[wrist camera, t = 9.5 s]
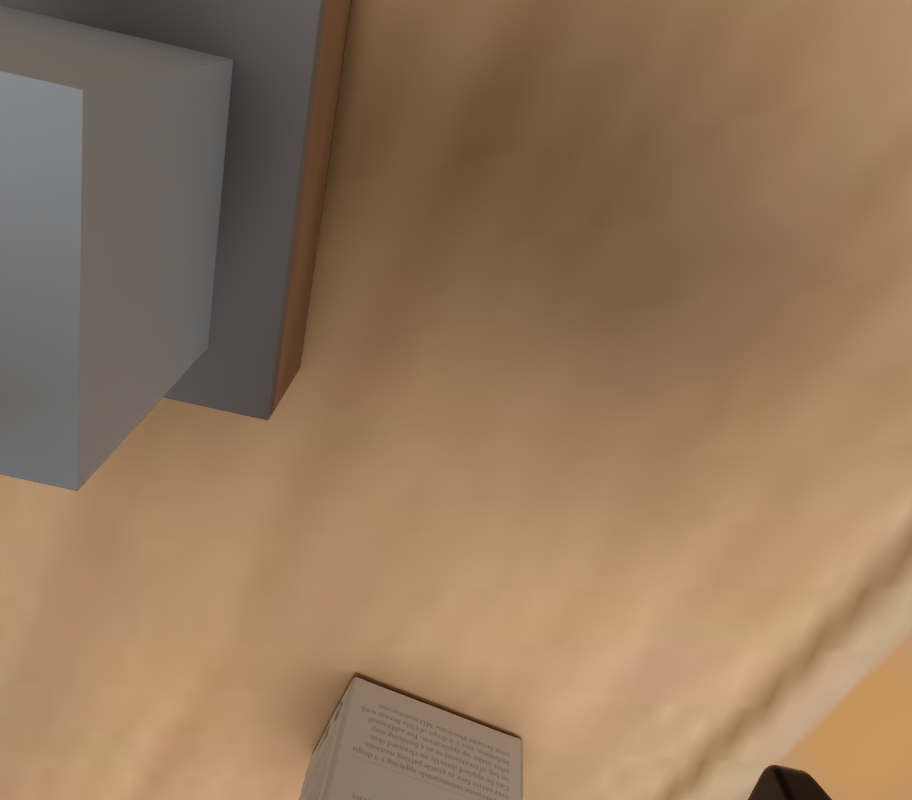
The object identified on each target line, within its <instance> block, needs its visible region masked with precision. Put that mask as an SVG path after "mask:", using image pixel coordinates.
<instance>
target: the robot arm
mask: <svg viewBox="0 0 912 800" xmlns="http://www.w3.org/2000/svg"><path fill="white" fill-rule="evenodd" d="M748 800H832V799H831V798H830V797H829V796H828V795H827V793H826V792H825V791H824V790H823V789H822V788H821V786H820V785H819V784H818V783H817V782H816V781H815V780H814V779H813V778H812V777H811V776H810V775H809V774H807V773H806V772H804V771H801V770H796V769H792V768H788V767H783V766H778V765H770V766H768V767H767V768H766V769H765V770H764V771H763V773H762V774H761V776H760V778H759V780H758V782H757V784H756V786H755V787H754V789H753V791H752V793H751V795H750V797H749V799H748Z"/></svg>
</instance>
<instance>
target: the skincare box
mask: <svg viewBox="0 0 912 800" xmlns="http://www.w3.org/2000/svg"><path fill="white" fill-rule="evenodd" d="M299 800H523V748H522V742H521V740H520V739H518V738H516V737H513V736H510V735H507V734H505V733H502V732H499V731H496V730H494V729H491V728H489V727H486V726H483V725H481V724H478V723H475V722H473V721H470V720H468V719H465V718H462V717H460V716H457V715H455V714H452V713H449V712H447V711H444V710H441V709H439V708H436V707H433V706H431V705H428V704H426V703H423V702H420V701H418V700H415V699H412V698H410V697H407V696H404V695H402V694H399V693H396V692H394V691H391V690H389V689H386V688H384V687H381V686H378V685H376V684H373V683H370V682H368V681H366V680H363V679H361V678H358V677H355V678H353V679H352V681H351V683H350V685H349V687H348V688H347V690H346V692H345V694H344V696H343V698H342V700H341V701H340V703H339V705H338V707H337V709H336V711H335V712H334V714H333V716H332V718H331V720H330V722H329V724H328V726H327V728H326V730H325V732H324V734H323V736H322V738H321V740H320V742H319V744H318V745H317V747H316V749H315V751H314V753H313V754H312V756H311V759H310V762H309V765H308V769H307V772H306V776H305V780H304V784H303V788H302V791H301V795H300V799H299Z"/></svg>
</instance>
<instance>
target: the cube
mask: <svg viewBox="0 0 912 800" xmlns="http://www.w3.org/2000/svg"><path fill="white" fill-rule="evenodd" d="M232 67H233V59H230V58H225V57H221V56H217V55H213V54H208V53H204V52H200V51H195V50H191V49H187V48H182V47H178V46H174V45H169V44H165V43H161V42H156V41H152V40H148V39H143V38H139V37H135V36H131V35H126V34H122V33H118V32H113V31H109V30H105V29H100V28H96V27H92V26H87V25H83V24H79V23H74V22H70V21H66V20H62V19H57V18H53V17H49V16H44V15H40V14H36V13H31V12H27V11H23V10H18V9H14V8H10V7H5V6H1V5H0V474H2V475H6V476H11V477H15V478H20V479H25V480H29V481H34V482H38V483H43V484H48V485H52V486H57V487H61V488H66V489H71V490H75V491H78V490H79V489H80V488H81V486H82V485H83V484H84V483H85V482H86V481H87V480H88V479H89V478H90V477H91V475H92V474H93V473H94V472H95V471H96V470H97V469H98V468H99V467H100V466H101V464H102V463H103V462H104V461H105V460H106V459H107V458H108V457H109V456H110V455H111V453H112V452H113V451H114V450H115V449H116V448H117V447H118V446H119V445H120V444H121V442H122V441H123V440H124V439H125V438H126V437H127V436H128V435H129V434H130V433H131V431H132V430H133V429H134V428H135V427H136V426H137V425H138V424H139V423H140V422H141V420H142V419H143V418H144V417H145V416H146V415H147V414H148V413H149V412H150V411H151V409H152V408H153V407H154V406H155V405H156V404H157V403H158V402H159V401H160V400H161V398H162V397H163V396H164V395H165V394H166V393H167V392H168V391H169V390H170V389H171V387H172V386H173V385H174V384H175V383H176V382H177V381H178V380H179V379H180V378H181V376H182V375H183V374H184V373H185V372H186V371H187V370H188V369H189V368H190V367H191V365H192V364H193V363H194V362H195V361H196V360H197V359H198V358H199V357H200V356H201V354H202V353H203V352H204V351H205V350H206V349H207V348H208V342H209V331H210V319H211V308H212V296H213V285H214V273H215V262H216V250H217V239H218V228H219V216H220V205H221V193H222V182H223V170H224V159H225V147H226V136H227V124H228V113H229V102H230V90H231V79H232Z"/></svg>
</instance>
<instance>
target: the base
mask: <svg viewBox="0 0 912 800" xmlns="http://www.w3.org/2000/svg"><path fill="white" fill-rule="evenodd" d="M0 5H1V6H5V7H10V8H14V9H18V10H23V11H27V12H31V13H36V14H40V15H44V16H49V17H53V18H57V19H62V20H66V21H70V22H74V23H79V24H83V25H87V26H92V27H96V28H100V29H105V30H109V31H113V32H118V33H122V34H126V35H131V36H135V37H139V38H143V39H148V40H152V41H156V42H161V43H165V44H169V45H174V46H178V47H182V48H187V49H191V50H195V51H200V52H204V53H208V54H213V55H217V56H221V57H225V58H230V59H233V67H232V79H231V90H230V102H229V113H228V124H227V136H226V147H225V159H224V170H223V182H222V193H221V205H220V216H219V228H218V239H217V250H216V262H215V273H214V285H213V296H212V308H211V319H210V331H209V342H208V348H207V349H206V350H205V351H204V352H203V353H202V354H201V356H200V357H199V358H198V359H197V360H196V361H195V362H194V363H193V364H192V365H191V367H190V368H189V369H188V370H187V371H186V372H185V373H184V374H183V375H182V376H181V378H180V379H179V380H178V381H177V382H176V383H175V384H174V385H173V386H172V387H171V389H170V390H169V391H168V392H167V393H166V394H165V395H164V396H163V397H164V398H169V399H173V400H178V401H183V402H187V403H192V404H196V405H201V406H205V407H210V408H214V409H219V410H223V411H228V412H232V413H237V414H241V415H246V416H250V417H255V418H259V419H264V420H269V418H270V416H271V415H272V413H273V411H274V410H275V408H276V406H277V405H278V403H279V401H280V400H281V398H282V397H283V395H284V393H285V392H286V390H287V388H288V387H289V385H290V383H291V382H292V380H293V378H294V377H295V375H296V373H297V372H298V370H299V369H300V362H301V355H302V348H303V341H304V334H305V327H306V320H307V312H308V305H309V298H310V291H311V284H312V277H313V270H314V263H315V256H316V249H317V241H318V234H319V227H320V220H321V213H322V206H323V199H324V192H325V185H326V178H327V170H328V163H329V156H330V149H331V142H332V135H333V128H334V121H335V114H336V107H337V99H338V92H339V85H340V78H341V71H342V64H343V57H344V50H345V43H346V36H347V28H348V21H349V14H350V7H351V0H0Z"/></svg>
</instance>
